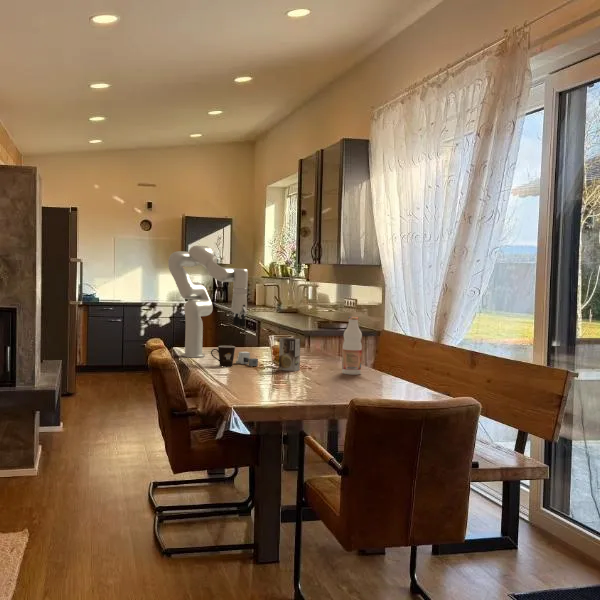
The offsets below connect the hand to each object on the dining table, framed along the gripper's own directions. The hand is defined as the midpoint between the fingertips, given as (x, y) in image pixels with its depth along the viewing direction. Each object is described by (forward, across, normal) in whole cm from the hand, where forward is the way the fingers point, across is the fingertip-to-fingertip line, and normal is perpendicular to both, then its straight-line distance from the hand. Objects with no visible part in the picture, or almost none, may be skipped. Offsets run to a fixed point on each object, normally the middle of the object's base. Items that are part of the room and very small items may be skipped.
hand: (239, 325), depth 384 cm
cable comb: (+20, +4, 0) cm, 20 cm away
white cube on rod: (+20, +7, 0) cm, 21 cm away
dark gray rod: (+20, +11, 0) cm, 23 cm away
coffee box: (+20, +34, +12) cm, 41 cm away
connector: (+20, +18, 0) cm, 27 cm away
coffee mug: (+20, +12, -14) cm, 27 cm away
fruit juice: (+20, +54, +36) cm, 68 cm away
